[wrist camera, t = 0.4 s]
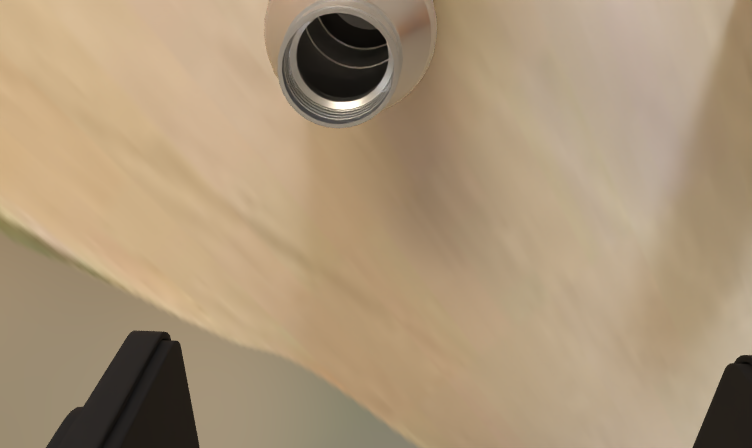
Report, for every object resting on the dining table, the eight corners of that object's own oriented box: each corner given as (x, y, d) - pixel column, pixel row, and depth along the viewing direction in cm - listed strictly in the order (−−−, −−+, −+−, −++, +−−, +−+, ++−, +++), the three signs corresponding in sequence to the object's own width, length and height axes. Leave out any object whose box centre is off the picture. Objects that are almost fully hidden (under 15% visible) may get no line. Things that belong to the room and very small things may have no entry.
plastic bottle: (448, -2, 35) (492, 99, 17) (354, 60, 37) (312, 206, 20) (389, -105, 32) (372, -107, 15) (293, -32, 34) (180, 41, 17)
